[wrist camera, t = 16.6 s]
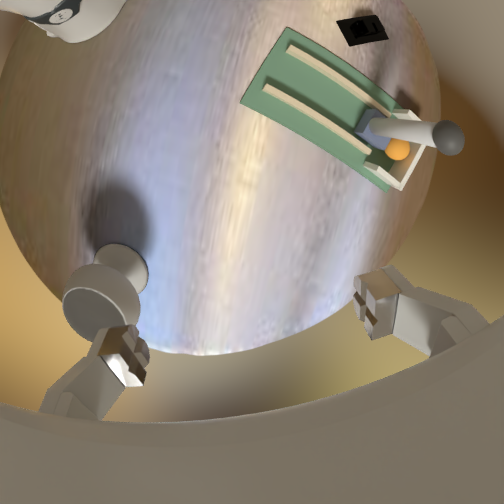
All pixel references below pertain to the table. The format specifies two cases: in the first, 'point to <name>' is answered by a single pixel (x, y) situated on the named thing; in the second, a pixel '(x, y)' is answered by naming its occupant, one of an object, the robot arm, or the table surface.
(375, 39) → the black boxy piece
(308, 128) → the pitch
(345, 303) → the table surface
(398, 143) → the ball
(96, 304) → the chalice
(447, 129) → the lever
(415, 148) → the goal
